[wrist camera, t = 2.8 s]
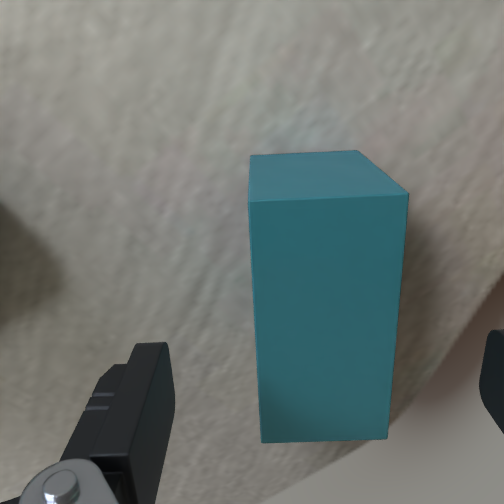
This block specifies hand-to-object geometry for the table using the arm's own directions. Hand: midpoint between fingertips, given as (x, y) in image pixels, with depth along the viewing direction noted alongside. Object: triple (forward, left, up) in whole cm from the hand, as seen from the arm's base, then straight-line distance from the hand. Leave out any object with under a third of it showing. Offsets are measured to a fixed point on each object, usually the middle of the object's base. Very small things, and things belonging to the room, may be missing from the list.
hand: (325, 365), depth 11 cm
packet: (0, 0, -7) cm, 7 cm away
